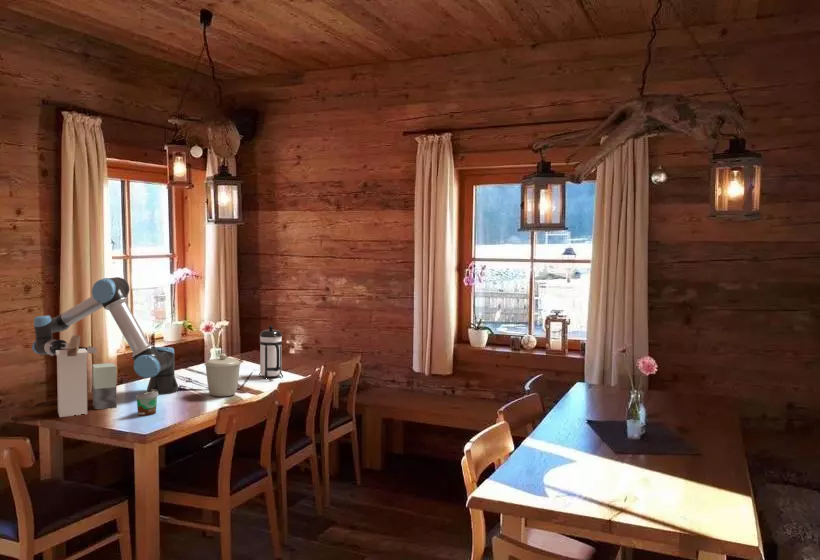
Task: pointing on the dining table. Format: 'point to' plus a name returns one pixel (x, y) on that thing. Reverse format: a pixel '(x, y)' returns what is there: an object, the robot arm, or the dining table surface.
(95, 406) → the tower base block
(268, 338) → the coffee press
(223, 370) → the canister
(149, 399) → the food container
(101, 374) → the tower top block
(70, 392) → the tall stand
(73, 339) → the walnut bar
